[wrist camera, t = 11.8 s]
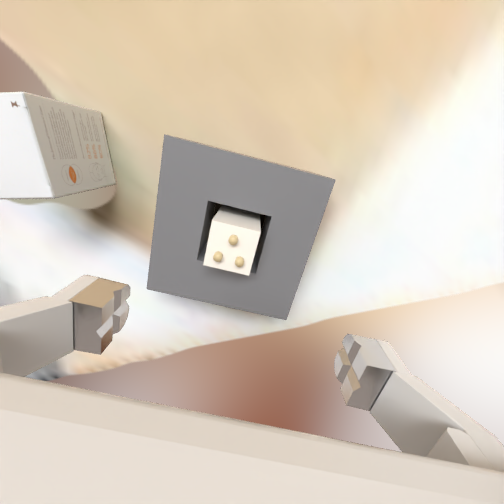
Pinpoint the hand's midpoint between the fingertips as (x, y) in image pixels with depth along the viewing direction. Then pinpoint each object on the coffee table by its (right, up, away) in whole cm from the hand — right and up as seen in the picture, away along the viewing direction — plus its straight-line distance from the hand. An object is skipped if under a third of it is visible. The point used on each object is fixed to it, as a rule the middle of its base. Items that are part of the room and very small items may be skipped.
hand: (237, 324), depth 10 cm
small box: (-19, +15, +21) cm, 31 cm away
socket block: (-1, +6, +23) cm, 24 cm away
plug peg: (-1, +6, +23) cm, 24 cm away
